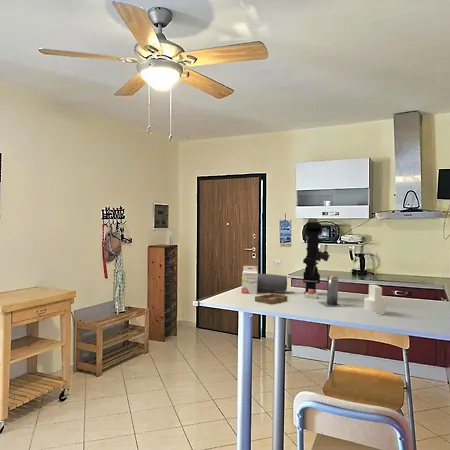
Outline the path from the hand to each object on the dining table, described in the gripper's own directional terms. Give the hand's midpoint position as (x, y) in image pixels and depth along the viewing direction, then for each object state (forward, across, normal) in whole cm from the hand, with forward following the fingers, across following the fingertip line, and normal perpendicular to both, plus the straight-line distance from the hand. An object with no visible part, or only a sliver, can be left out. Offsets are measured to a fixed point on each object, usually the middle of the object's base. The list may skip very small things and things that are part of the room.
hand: (311, 276), depth 209 cm
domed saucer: (+12, 0, +17) cm, 21 cm away
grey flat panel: (+12, -13, -12) cm, 21 cm away
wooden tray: (+12, -14, +18) cm, 26 cm away
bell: (+11, -13, -12) cm, 21 cm away
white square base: (+12, 0, 0) cm, 12 cm away
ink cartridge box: (+12, +2, +34) cm, 36 cm away
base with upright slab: (+12, -16, -31) cm, 37 cm away
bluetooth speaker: (+12, +11, +27) cm, 32 cm away
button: (+9, 0, 0) cm, 9 cm away
